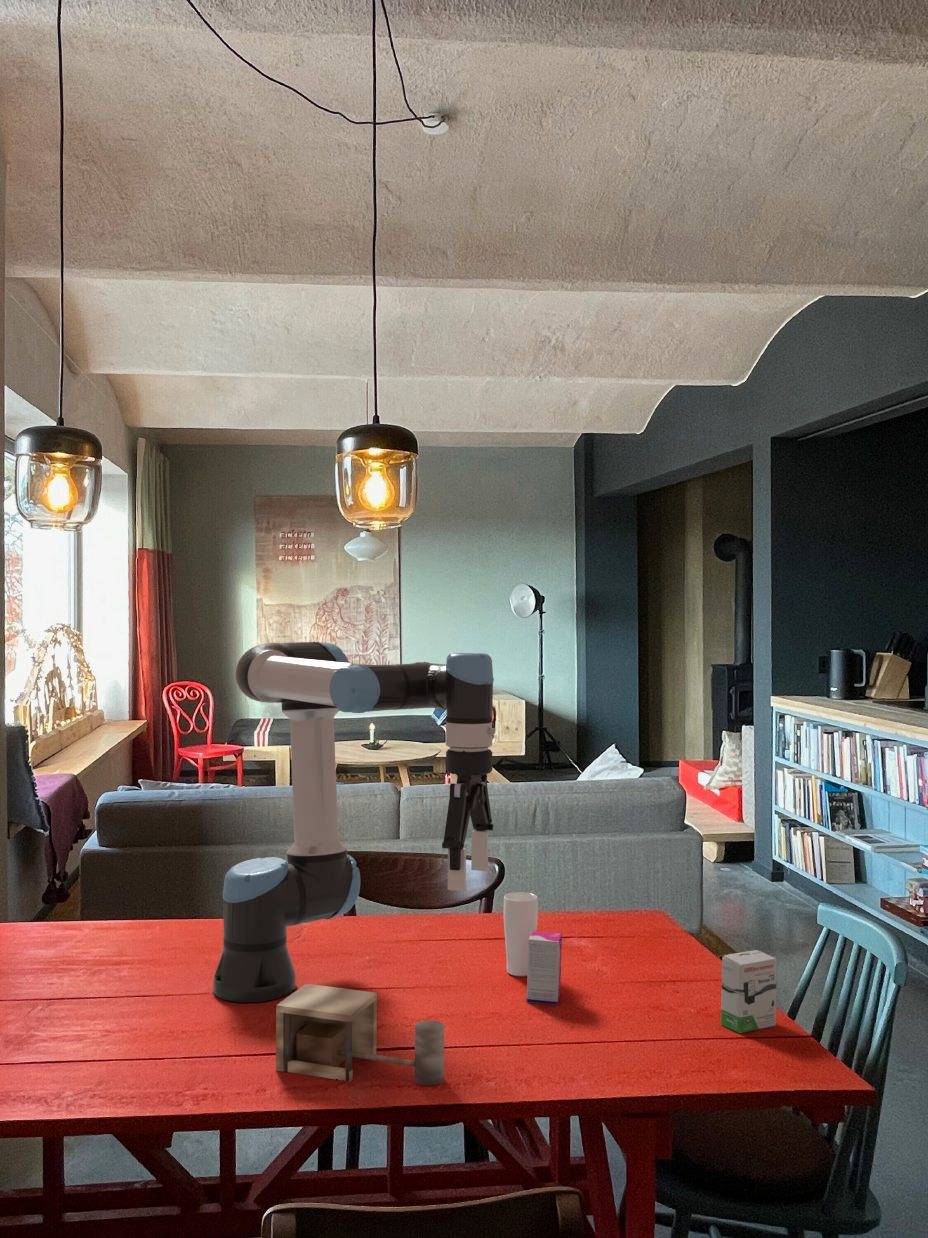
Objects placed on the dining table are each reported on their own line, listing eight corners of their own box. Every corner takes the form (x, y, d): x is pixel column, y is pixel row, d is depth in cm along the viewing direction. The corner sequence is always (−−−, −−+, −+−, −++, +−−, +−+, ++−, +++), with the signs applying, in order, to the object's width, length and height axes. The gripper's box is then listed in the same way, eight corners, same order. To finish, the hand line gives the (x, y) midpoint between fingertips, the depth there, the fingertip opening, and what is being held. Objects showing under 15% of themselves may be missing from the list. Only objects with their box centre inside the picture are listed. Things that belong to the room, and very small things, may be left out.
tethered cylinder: (296, 1066, 161) (296, 1014, 161) (311, 1053, 165) (311, 1003, 165) (437, 1088, 153) (437, 1034, 153) (448, 1074, 158) (448, 1022, 158)
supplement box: (558, 1005, 187) (558, 941, 187) (525, 1002, 188) (526, 939, 188) (562, 994, 193) (562, 932, 193) (530, 991, 194) (530, 930, 194)
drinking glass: (498, 976, 202) (498, 899, 202) (509, 965, 208) (510, 890, 208) (531, 980, 199) (531, 902, 199) (541, 970, 206) (542, 894, 206)
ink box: (739, 1035, 174) (739, 964, 174) (719, 1024, 179) (719, 955, 179) (778, 1026, 178) (778, 956, 178) (757, 1016, 183) (758, 948, 183)
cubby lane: (275, 1070, 159) (276, 1005, 159) (305, 1045, 169) (306, 983, 169) (349, 1082, 155) (350, 1015, 155) (376, 1056, 165) (376, 993, 165)
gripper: (470, 759, 155) (469, 901, 155) (509, 740, 179) (509, 864, 179) (422, 757, 157) (422, 897, 157) (468, 739, 181) (467, 861, 181)
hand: (468, 880), depth 168 cm, fingers open, 13 cm apart
